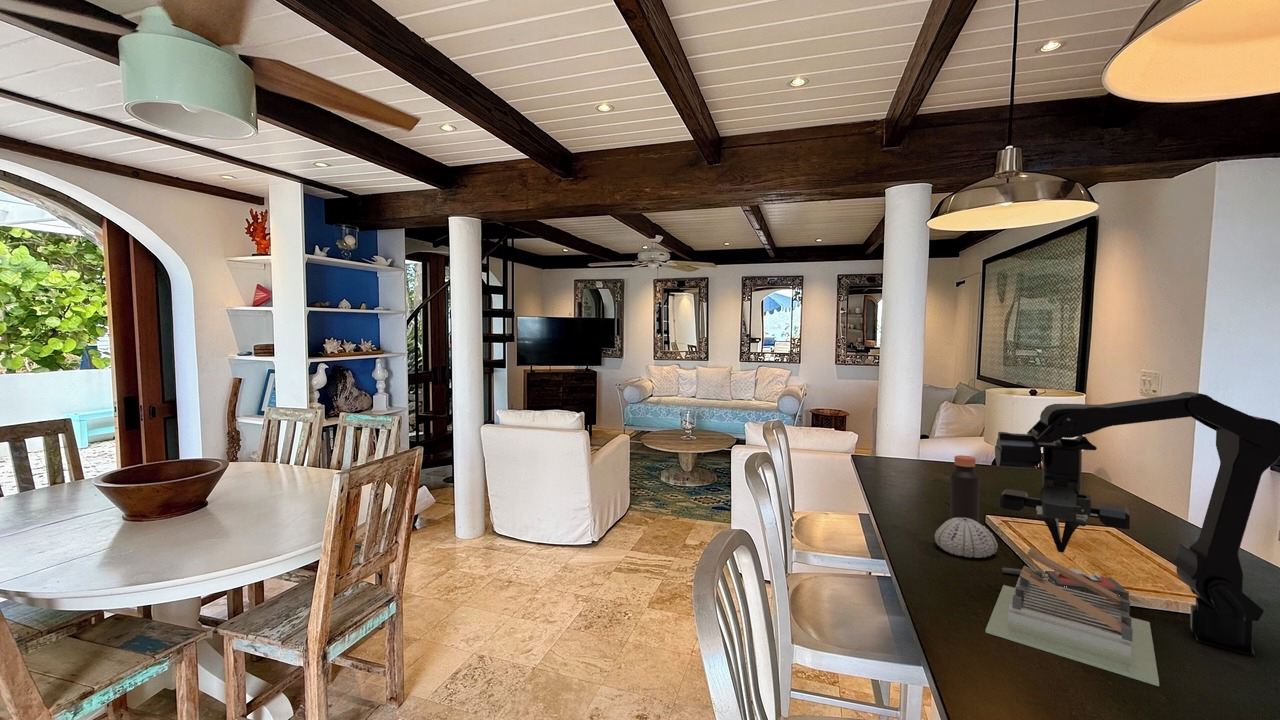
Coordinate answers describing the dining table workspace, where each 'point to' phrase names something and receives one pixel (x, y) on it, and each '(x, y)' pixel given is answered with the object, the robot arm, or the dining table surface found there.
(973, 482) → the bottle
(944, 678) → the dining table surface
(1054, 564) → the strap
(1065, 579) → the walkie-talkie
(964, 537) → the sea urchin shell
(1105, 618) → the strap
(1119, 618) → the heat sink board
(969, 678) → the dining table surface
